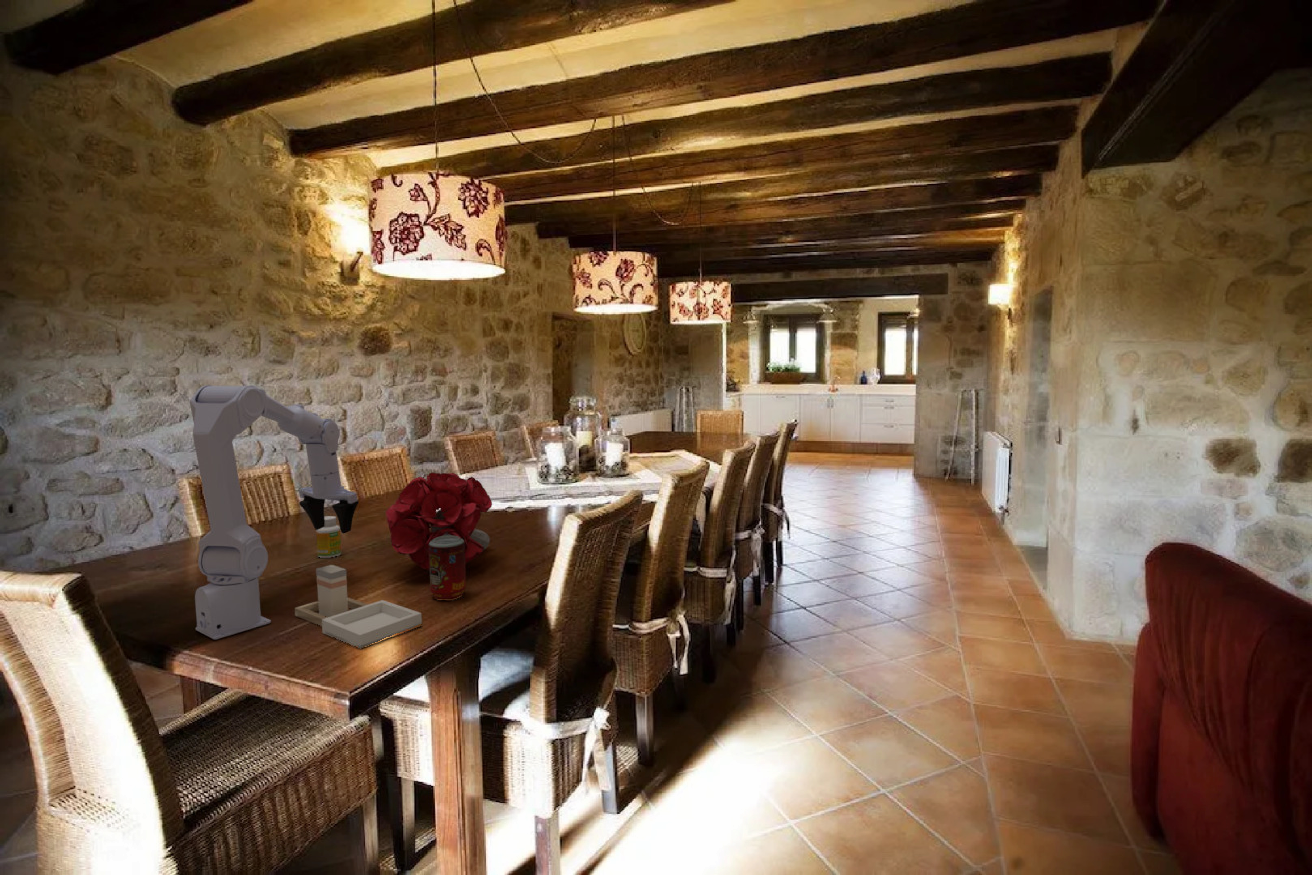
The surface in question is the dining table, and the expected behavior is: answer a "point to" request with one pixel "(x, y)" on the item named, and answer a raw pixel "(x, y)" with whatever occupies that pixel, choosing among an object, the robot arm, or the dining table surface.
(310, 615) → the frame
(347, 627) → the tray
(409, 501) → the bouquet
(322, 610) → the block
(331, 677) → the dining table surface
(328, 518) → the supplement bottle
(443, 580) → the soda can
